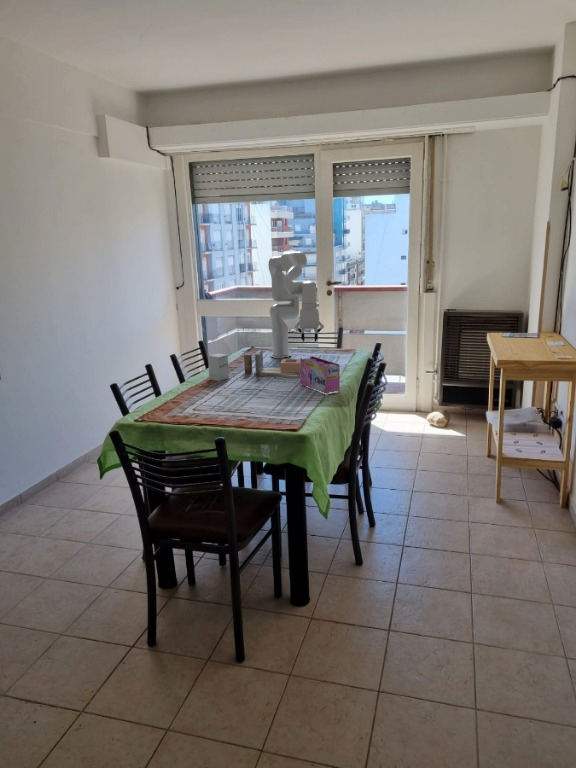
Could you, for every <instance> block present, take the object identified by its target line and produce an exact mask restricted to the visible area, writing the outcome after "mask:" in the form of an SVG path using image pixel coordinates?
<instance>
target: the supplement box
mask: <svg viewBox="0 0 576 768" xmlns="http://www.w3.org/2000/svg"><path fill="white" fill-rule="evenodd" d="M207 357H208V360H207V361H208V378H209V380H211V381H215V382H221V381H223V380H227V379H230V378H229V377H230V376H229V373H230V372H229V357H228V354H225V353H214V354H210V355H208V356H207Z"/></svg>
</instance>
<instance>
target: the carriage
mask: <svg viewBox="0 0 576 768" xmlns="http://www.w3.org/2000/svg"><path fill="white" fill-rule="evenodd" d="M279 366H280V367H279V368H280V369H281V372H300V370H301V359H300V358H281V361H280V365H279Z"/></svg>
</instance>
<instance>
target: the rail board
mask: <svg viewBox="0 0 576 768" xmlns="http://www.w3.org/2000/svg"><path fill="white" fill-rule="evenodd" d="M256 375H258V373H256V370H255V371H254V372H253V376H254V377H255V376H256ZM284 375H301V370H300V372H281V369H280V367H263V369H262V370H261V372H260V376H259V377H285V376H284ZM256 377H257V376H256Z"/></svg>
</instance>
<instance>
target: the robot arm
mask: <svg viewBox="0 0 576 768" xmlns="http://www.w3.org/2000/svg"><path fill="white" fill-rule="evenodd" d="M307 263H308V258H307V255H306V254H305V253H304V252H302V251H287V252H284V253H283V254H281V255H278V256H277V255H276V256H273V257H270V258H269V259H268V263H267V264H268V272H269V273H270V277H271V278H270V279H271V299H272V300H273V302H279V303H275V304H273V305H271V306H270V308H269V316H270V322H271V336H272V337H271V342H272V344H271V345H272V347H271V348H272V353H270V354H269V357H270V356H271V357H270V358H272V357H273V358H272V359H285V358H284V357H288V358H290V357H289V356H291V357H292V354H291V353H289V327H288V325H287V324H286V323H285V321H286V320H287V321H288V320H295V319H298V318H299V321H298V322H297V323H296V325H294V328H295V329H296V330H297V331H298V332H299V333H300V334H301V335H300V336H301V340H302V342H303V343H304V342H305V340H306V339H305V338H306V337H305V329H309V330H310V329H313V330H314V342H317V341H318V338H319V337H318V334H319V333H320V331H322V330H323V329H324V328H325V325H324V324H323V323H322V322H321V321H320V314H319V313H320V312H319V308H318V307H320V303H317V283H316V282H315V281H312V280H297V279H299V277H301V275H302V273H303V268H305V267H306V266H307ZM284 272H285V273H284ZM300 296H301V308H300ZM280 302H289V303H280Z"/></svg>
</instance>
